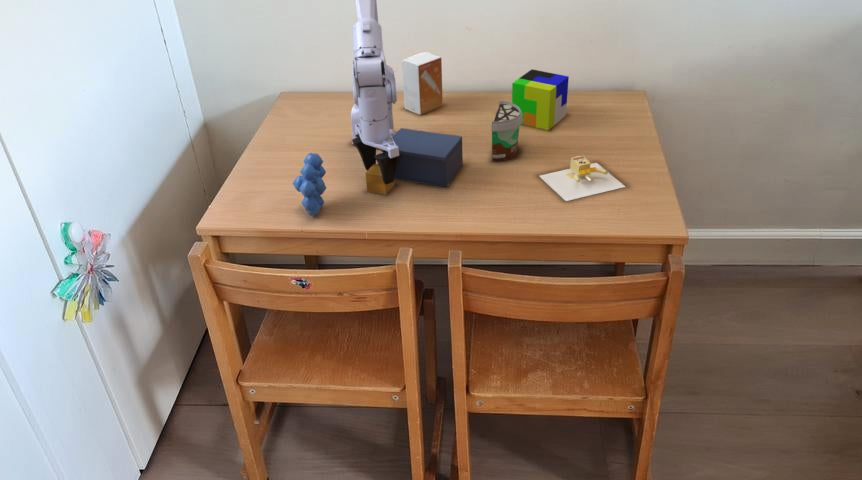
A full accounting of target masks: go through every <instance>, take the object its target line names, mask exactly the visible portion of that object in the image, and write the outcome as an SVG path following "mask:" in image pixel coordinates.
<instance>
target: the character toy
mask: <svg viewBox="0 0 862 480" xmlns="http://www.w3.org/2000/svg"><path fill="white" fill-rule="evenodd" d="M591 164H592V163H591V162H590V161H589V160H588V159H587V158H586V157H585V156H584V155H583V154H582V155H578V156H574V157H571V158H570V163H569V165H570V166H569V168H568V169H569V170H570V171H571V172H572V173H573V174H574V175H573V178H574V180H575V181H576V182H577V183H580V182H581V177H585V178H586V179H587V180H588V181H589V182H591V181H592V180H593V179H592V178H591V177H589V176H588V175H590V174H592V173H599V174H603V175H605V176H606V175H607V174H608V173H609V171H608V170H607V169H605V168H604V167H602V166H601V167H602V168H601V167H596V166H593V167H591Z"/></svg>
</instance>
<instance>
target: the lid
mask: <svg viewBox="0 0 862 480" xmlns="http://www.w3.org/2000/svg"><path fill="white" fill-rule="evenodd" d="M395 133H396V134H395V135H394V136H393V137H392V138H393V140H394V142H395V144H396V145H397V146H398V147H399V150H400V151H402V154H403V155H409V156H416V157H423V158H429V159H436V160H443V161H445V160H446V159H447V157H448V156H449V155H450V154H451V153H452V151H453V150H454V149H455V148H456V147H457V145H458V144H459V143H460V142H461V141H462V142H463V136H461V135H454V134H447V133H440V132H439V133H438V132H431V131H426V130H417V129H410V128H402V127H400V129H398V131H396V132H395ZM380 152H381V153H383V150H382V149H380Z"/></svg>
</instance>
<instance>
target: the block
mask: <svg viewBox="0 0 862 480" xmlns="http://www.w3.org/2000/svg"><path fill="white" fill-rule="evenodd" d="M365 183H366V192H367V193H371V194H378V195H383V196H386V195H388V194H389V192H390V191H392V189H393V188H394V187H395V181H394V182H392V183H389V184H384V182H383V179H382V174H381V170H380V167H379V164H378V163H376V164H373V165H372V166H371V167H370V169H369V170H368V171H367V170H366V172H365Z"/></svg>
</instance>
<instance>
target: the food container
mask: <svg viewBox="0 0 862 480" xmlns="http://www.w3.org/2000/svg"><path fill="white" fill-rule="evenodd" d="M522 122H523V116H522V112H521V110H520V108H519V107H518V106H517V105H515V104H513V103H512V102H510V101H505V100H499V101H498V107H497V110H496V112H495V116H494V120H493V121H491V128H490V129H491V130H490V131H491V162H501V161H502V162H504V161H507V160H510V159H513V158H514V157H515V156H516V155H517V153H518V143H519V134H520V126H521V125H522V124H521V123H522Z"/></svg>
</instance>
